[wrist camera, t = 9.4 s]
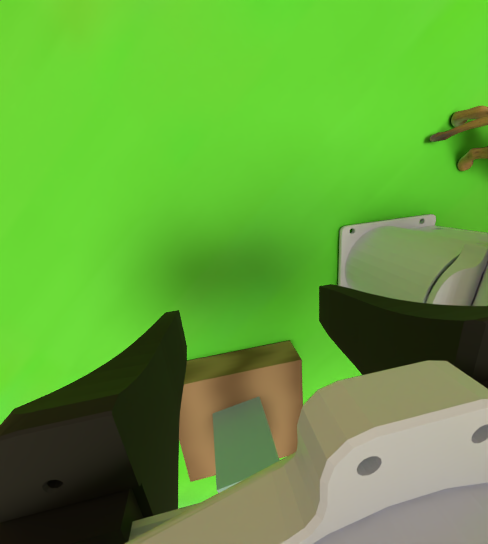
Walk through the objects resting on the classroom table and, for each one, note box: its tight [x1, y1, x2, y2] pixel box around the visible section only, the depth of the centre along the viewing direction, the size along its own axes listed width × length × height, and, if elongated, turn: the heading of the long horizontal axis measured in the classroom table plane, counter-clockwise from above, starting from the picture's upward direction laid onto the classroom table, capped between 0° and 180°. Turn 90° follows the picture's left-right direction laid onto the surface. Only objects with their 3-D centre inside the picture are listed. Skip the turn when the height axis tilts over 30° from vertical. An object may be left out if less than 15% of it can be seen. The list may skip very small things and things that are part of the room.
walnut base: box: [179, 340, 303, 481], centre depth 24 cm, size 12×12×3 cm
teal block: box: [213, 397, 280, 493], centre depth 20 cm, size 4×4×6 cm
